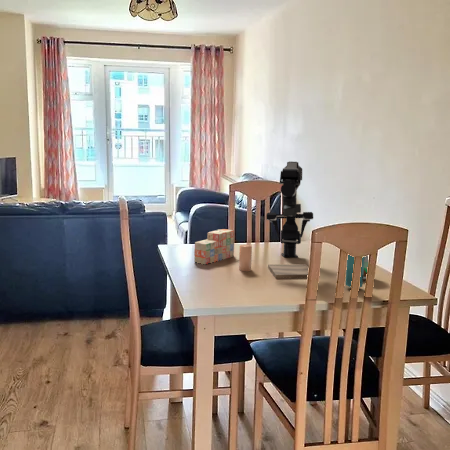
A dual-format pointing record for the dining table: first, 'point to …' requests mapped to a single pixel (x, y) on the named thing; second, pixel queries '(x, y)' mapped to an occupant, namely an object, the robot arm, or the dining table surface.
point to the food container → (365, 267)
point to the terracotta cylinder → (245, 257)
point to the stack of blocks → (215, 246)
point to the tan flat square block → (289, 270)
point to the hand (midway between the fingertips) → (289, 237)
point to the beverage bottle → (350, 271)
